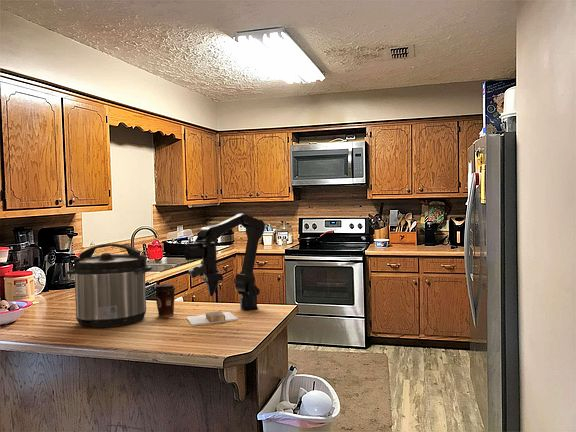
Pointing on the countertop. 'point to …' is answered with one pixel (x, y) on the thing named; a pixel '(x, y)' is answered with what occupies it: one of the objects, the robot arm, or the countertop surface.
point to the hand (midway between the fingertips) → (211, 295)
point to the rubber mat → (202, 320)
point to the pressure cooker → (110, 287)
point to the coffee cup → (165, 299)
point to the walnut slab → (215, 316)
